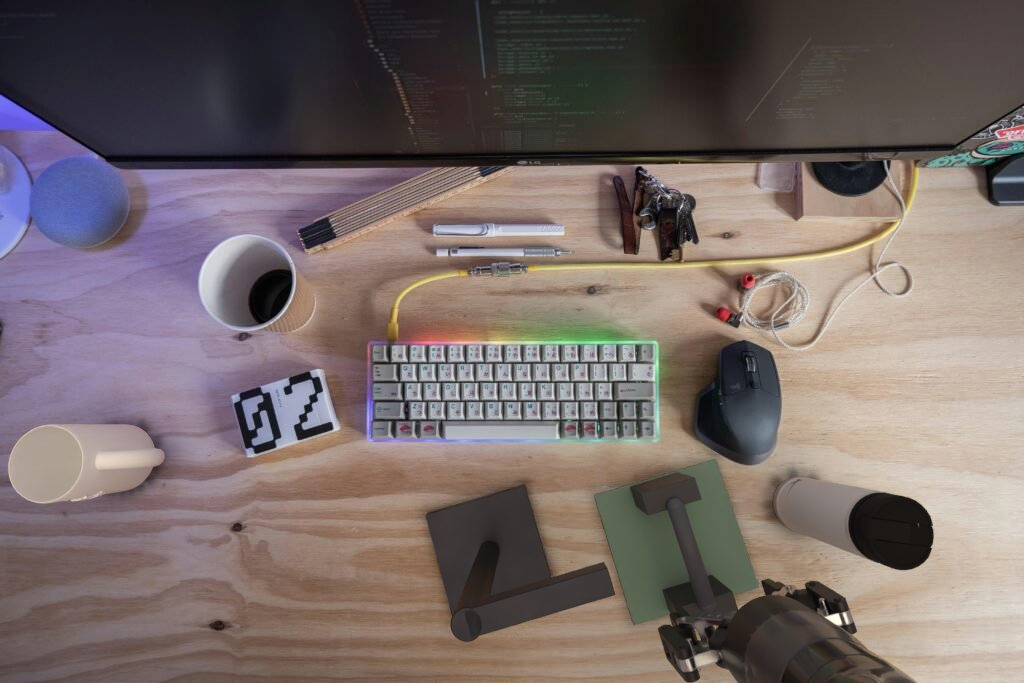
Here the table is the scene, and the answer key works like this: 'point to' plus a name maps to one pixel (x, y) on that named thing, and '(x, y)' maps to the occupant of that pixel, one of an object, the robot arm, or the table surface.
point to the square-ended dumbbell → (684, 545)
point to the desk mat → (673, 543)
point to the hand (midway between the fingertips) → (723, 603)
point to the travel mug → (857, 520)
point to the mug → (81, 461)
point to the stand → (503, 566)
